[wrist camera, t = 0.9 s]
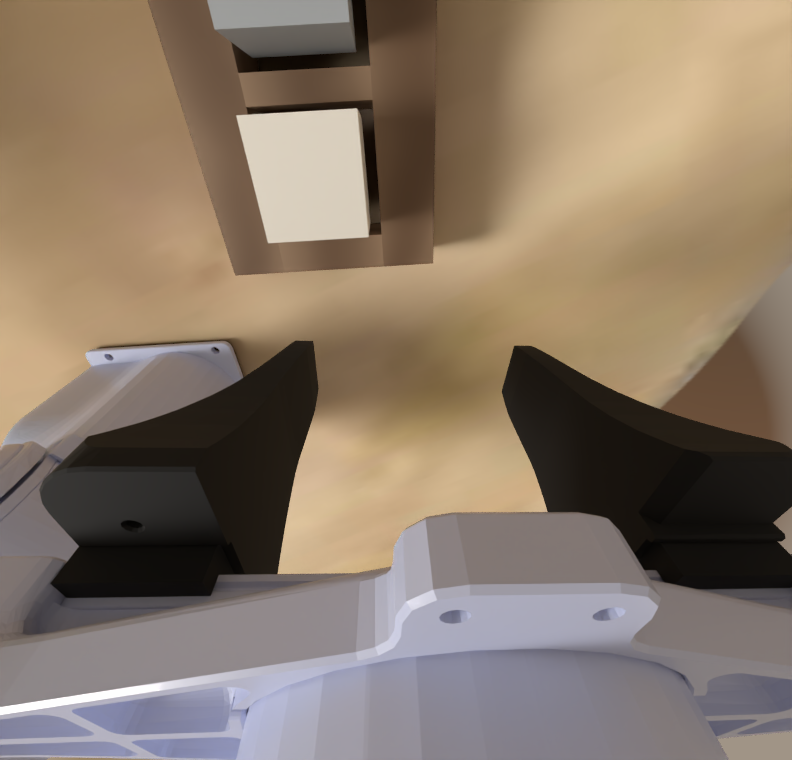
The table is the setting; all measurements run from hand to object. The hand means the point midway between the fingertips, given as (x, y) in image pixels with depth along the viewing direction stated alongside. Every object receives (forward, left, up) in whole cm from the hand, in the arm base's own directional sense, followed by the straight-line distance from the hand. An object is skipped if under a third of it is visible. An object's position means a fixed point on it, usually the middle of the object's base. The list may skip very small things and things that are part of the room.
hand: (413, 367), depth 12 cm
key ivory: (-3, +6, -8) cm, 10 cm away
